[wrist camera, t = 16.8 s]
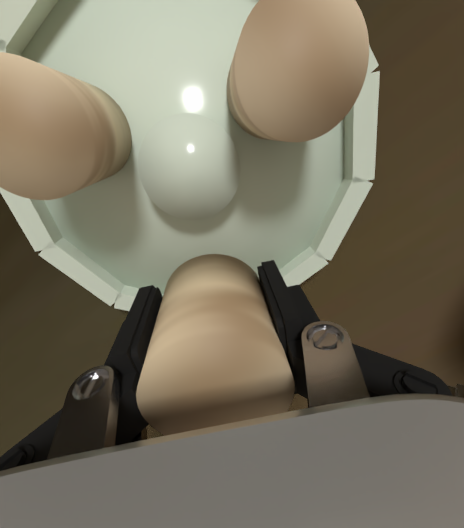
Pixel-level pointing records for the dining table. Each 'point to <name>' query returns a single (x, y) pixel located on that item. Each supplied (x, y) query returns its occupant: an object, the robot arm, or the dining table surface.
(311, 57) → the bead
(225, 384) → the brown egg
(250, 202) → the pale green faceted plate
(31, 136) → the tan egg
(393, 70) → the dining table surface
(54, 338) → the dining table surface
